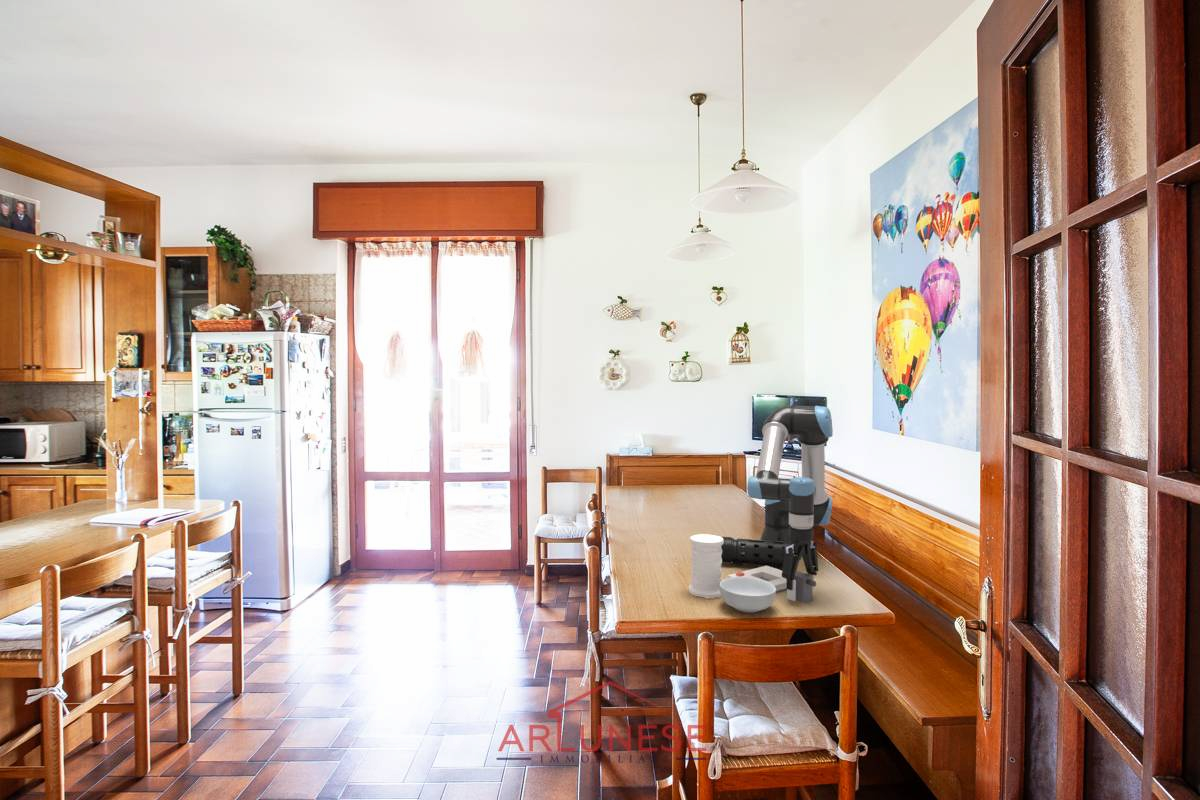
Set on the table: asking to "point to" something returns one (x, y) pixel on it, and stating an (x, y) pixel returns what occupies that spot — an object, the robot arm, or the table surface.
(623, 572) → the table surface
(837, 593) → the table surface
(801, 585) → the plug
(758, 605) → the cereal bowl
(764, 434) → the robot arm
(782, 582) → the socket plate
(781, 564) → the muzzle brake
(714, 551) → the decorative container
